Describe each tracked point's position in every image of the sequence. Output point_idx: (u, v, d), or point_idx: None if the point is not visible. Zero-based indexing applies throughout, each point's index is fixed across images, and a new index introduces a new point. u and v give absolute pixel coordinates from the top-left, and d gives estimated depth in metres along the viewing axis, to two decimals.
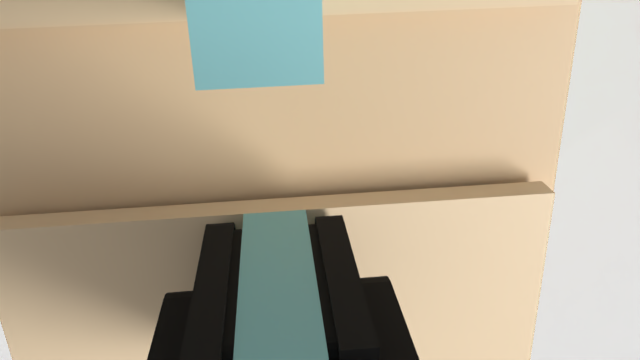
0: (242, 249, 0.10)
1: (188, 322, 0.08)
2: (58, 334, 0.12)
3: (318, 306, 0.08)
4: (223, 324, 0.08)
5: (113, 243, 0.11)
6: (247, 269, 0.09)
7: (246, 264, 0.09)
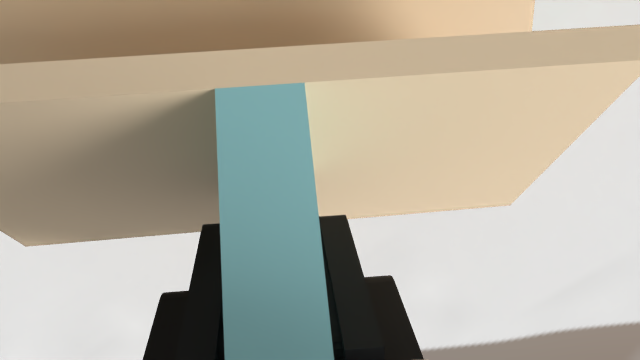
0: (220, 182, 0.07)
1: (183, 322, 0.08)
2: None
3: (326, 317, 0.06)
4: (218, 324, 0.08)
5: (34, 118, 0.08)
6: (230, 230, 0.07)
7: (228, 217, 0.07)
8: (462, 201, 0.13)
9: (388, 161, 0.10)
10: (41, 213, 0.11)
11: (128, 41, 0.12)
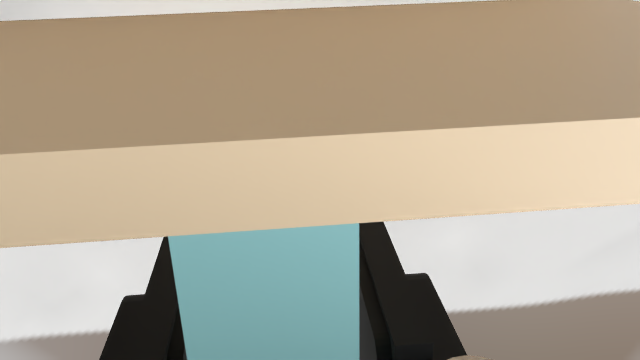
0: None
1: (135, 326, 0.08)
2: None
3: None
4: (171, 328, 0.08)
5: None
6: None
7: None
8: None
9: None
10: None
11: None
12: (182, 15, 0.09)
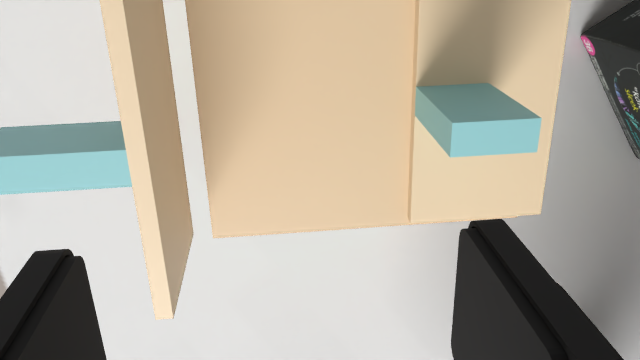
0: (79, 153, 0.17)
1: None
2: None
3: (26, 191, 0.17)
4: None
5: None
6: (58, 157, 0.17)
7: (63, 157, 0.17)
8: None
9: None
10: None
11: (268, 36, 0.22)
12: (172, 83, 0.22)
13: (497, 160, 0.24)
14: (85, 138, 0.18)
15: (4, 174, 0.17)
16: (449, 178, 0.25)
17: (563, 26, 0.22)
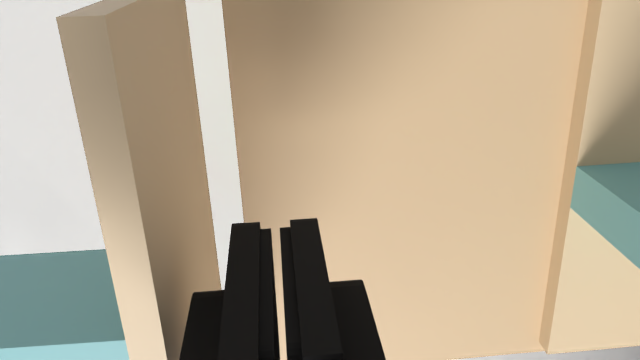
0: (38, 347, 0.09)
1: (222, 321, 0.08)
2: None
3: None
4: (257, 324, 0.08)
5: None
6: (0, 355, 0.09)
7: (9, 354, 0.09)
8: None
9: None
10: None
11: (354, 93, 0.14)
12: (204, 168, 0.14)
13: None
14: (56, 298, 0.10)
15: None
16: (610, 293, 0.17)
17: None
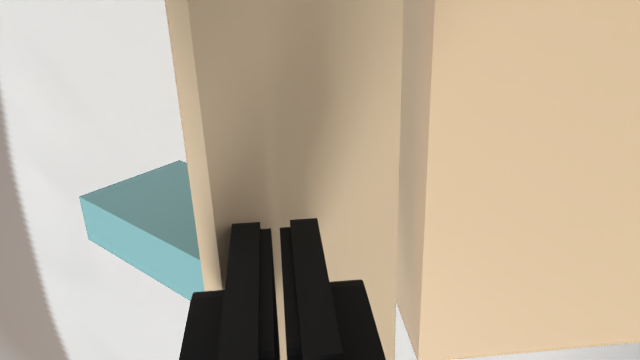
0: (159, 240, 0.12)
1: (222, 322, 0.08)
2: None
3: (123, 259, 0.13)
4: (257, 324, 0.08)
5: None
6: (144, 235, 0.12)
7: (148, 236, 0.12)
8: None
9: None
10: None
11: (548, 81, 0.14)
12: (394, 153, 0.14)
13: None
14: None
15: (107, 230, 0.14)
16: None
17: None
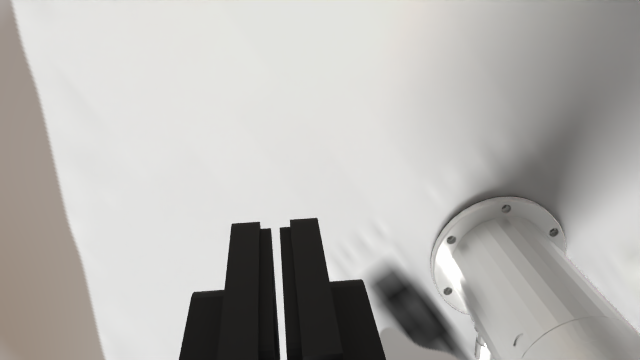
0: None
1: (222, 321, 0.08)
2: None
3: None
4: (257, 324, 0.08)
5: None
6: None
7: None
8: None
9: None
10: None
11: None
12: None
13: None
14: None
15: None
16: None
17: None
